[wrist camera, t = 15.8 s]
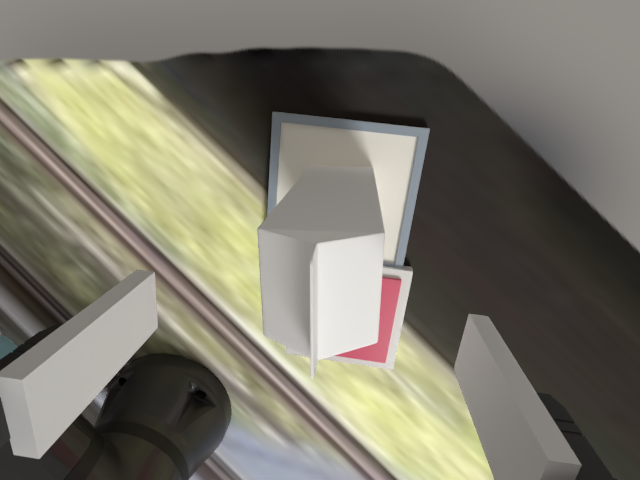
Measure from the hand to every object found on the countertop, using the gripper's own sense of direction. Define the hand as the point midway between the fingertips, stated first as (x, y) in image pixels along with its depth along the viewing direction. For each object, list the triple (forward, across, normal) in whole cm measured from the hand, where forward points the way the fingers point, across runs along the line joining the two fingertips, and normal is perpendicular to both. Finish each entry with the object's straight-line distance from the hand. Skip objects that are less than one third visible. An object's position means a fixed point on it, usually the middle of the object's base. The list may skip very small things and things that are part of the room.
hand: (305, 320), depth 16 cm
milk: (+22, +1, 0) cm, 22 cm away
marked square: (+22, +1, 0) cm, 22 cm away
